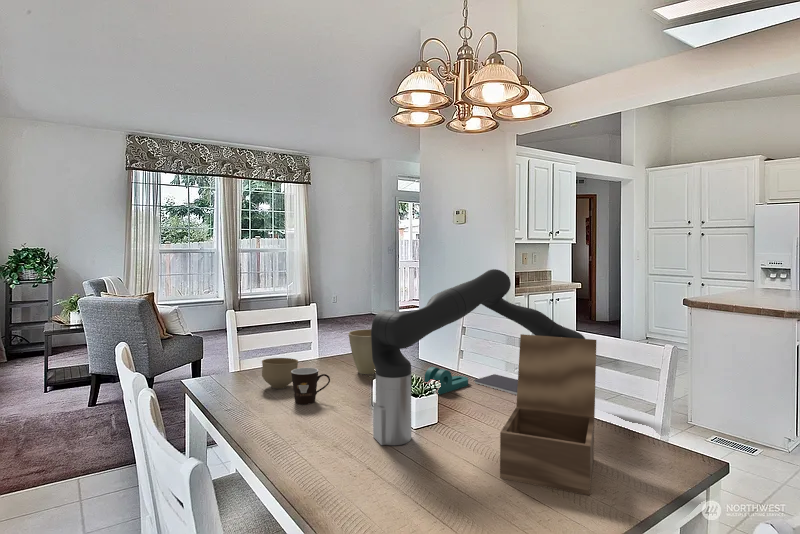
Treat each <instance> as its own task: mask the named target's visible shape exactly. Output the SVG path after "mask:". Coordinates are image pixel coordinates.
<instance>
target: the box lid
mask: <svg viewBox="0 0 800 534" xmlns="http://www.w3.org/2000/svg"><path fill="white" fill-rule="evenodd" d="M518 355H519V356H518V357H519V358H518V369H517V370H518V372H517V374H518V375H517V380H518V388H517V395H516V407H522V408H529V409H537V410H544V411H552V412H559V413H567V414H574V415H582V416H589V417H594V418H595V415H596V414H595V413H596V412H595V411H596V407H595V406H596V376H597V375H596V373H597V372H596V370H597V339H591V338H585V339H579V338H565V337H551V336H537V335H534V334H524V333H522V334H520V338H519V354H518ZM516 407H515V408H516Z"/></svg>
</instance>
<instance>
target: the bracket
mask: <svg viewBox="0 0 800 534" xmlns="http://www.w3.org/2000/svg"><path fill="white" fill-rule="evenodd" d="M430 379H434V380H440V383H441V387H440V388H439V390H438V393H439V395H438V396H440V395H443V394H446V393H449V392H452V391H455V390H456V391H457V390H458V389H462V388H464V387H467V386H469V377H467V376H463V375H452V373H451V371H450V370H447V369H444V368H439V367H436V366H430V367H428V368H427V369H426V371H425V373H424V381H423V382H428V381H429V380H430Z"/></svg>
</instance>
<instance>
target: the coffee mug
mask: <svg viewBox="0 0 800 534" xmlns="http://www.w3.org/2000/svg"><path fill="white" fill-rule="evenodd" d="M291 374H292V382H291V383H292V389H293V396H294V397H293V398H294V403H295V405H296V404H297V405H301V406H302V405H303V406H306V405H310V404H311V405H312V404H314V403H315V402H316V397H317V394H318V393H319V392H321V391H323V390H324V389H325V388H326V387H327V386H329V384H330V382H331V377H330V376H329V375H328V374H326V373H321V374H319V369H318V368H316V367H297V369H294V370H292V371H291ZM321 377H326V378H327V379H328V382H327V383H326V384H325V385H324V386H323V387H320V388H319V389H318V382H319V380H320V379H321ZM317 389H318V390H317Z"/></svg>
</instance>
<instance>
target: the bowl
mask: <svg viewBox="0 0 800 534" xmlns="http://www.w3.org/2000/svg"><path fill="white" fill-rule="evenodd" d="M261 364H262V365H261V366H262V368H261V369H262V371H261V377H262V378H263V381H265V382H266V383H267V384H268V385H269V386H270V387H271V388H272V389H277V390H278V389H279V390H282V389H286V388H287V387H288V386H289V385H291V384H292V383H293V382H292V374H291V371H292V370H294V369H297V368H299V367H298V365H299V360H298V359H296V358H292V357H291V358H288V357H271V358H266V359H263V360H261Z"/></svg>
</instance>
